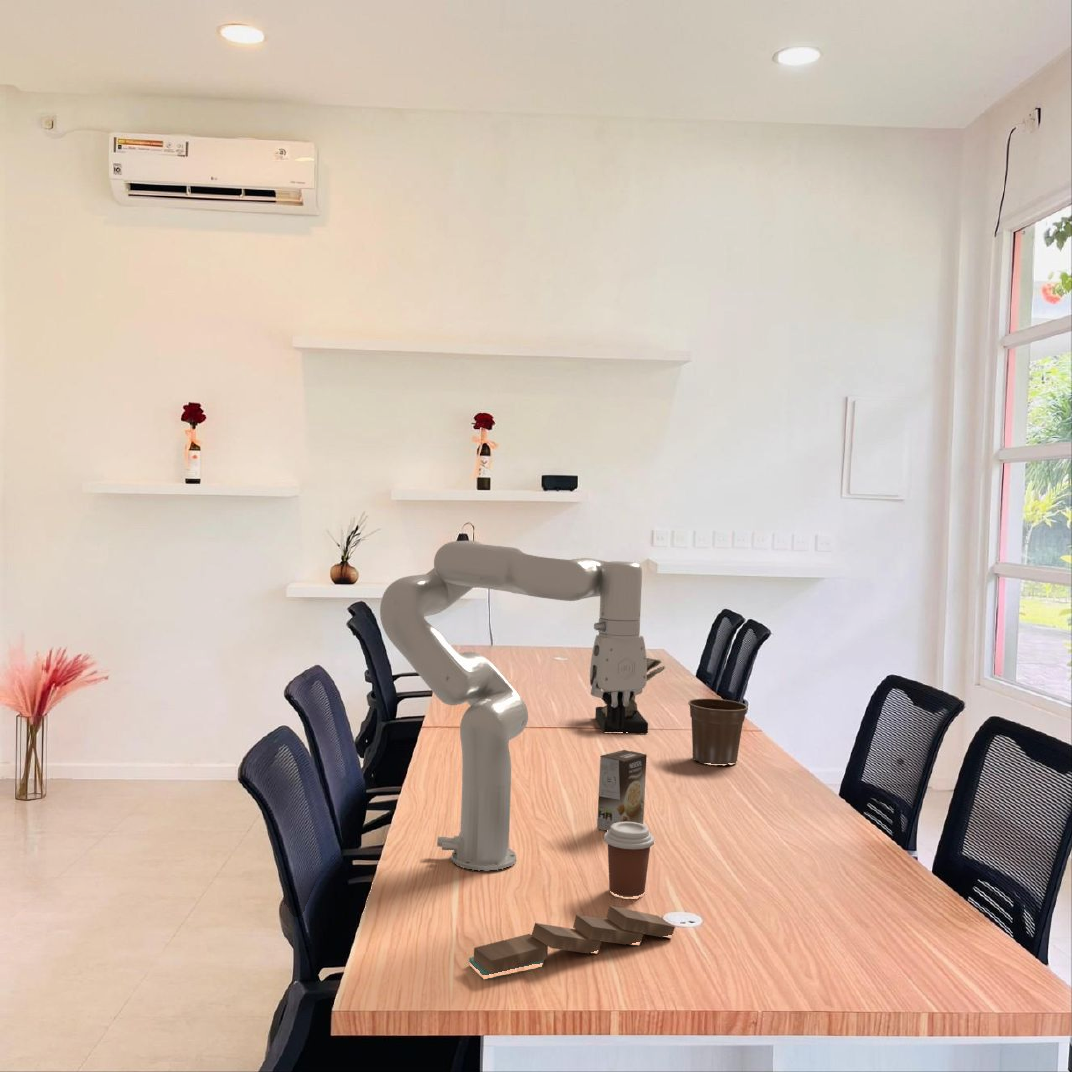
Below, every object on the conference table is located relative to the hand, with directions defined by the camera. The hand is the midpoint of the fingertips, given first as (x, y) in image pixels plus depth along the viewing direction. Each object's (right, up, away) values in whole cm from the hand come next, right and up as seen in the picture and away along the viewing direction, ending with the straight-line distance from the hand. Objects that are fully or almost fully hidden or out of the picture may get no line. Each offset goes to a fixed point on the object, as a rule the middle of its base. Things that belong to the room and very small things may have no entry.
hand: (615, 726), depth 190 cm
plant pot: (+35, -27, +94) cm, 104 cm away
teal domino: (-15, -30, -33) cm, 46 cm away
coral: (+15, -25, +137) cm, 140 cm away
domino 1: (-14, -28, -33) cm, 45 cm away
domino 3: (+1, -29, -24) cm, 38 cm away
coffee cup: (+2, -30, -4) cm, 30 cm away
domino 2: (-6, -29, -28) cm, 41 cm away
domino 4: (+6, -29, -21) cm, 36 cm away
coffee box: (+4, -28, +33) cm, 44 cm away
